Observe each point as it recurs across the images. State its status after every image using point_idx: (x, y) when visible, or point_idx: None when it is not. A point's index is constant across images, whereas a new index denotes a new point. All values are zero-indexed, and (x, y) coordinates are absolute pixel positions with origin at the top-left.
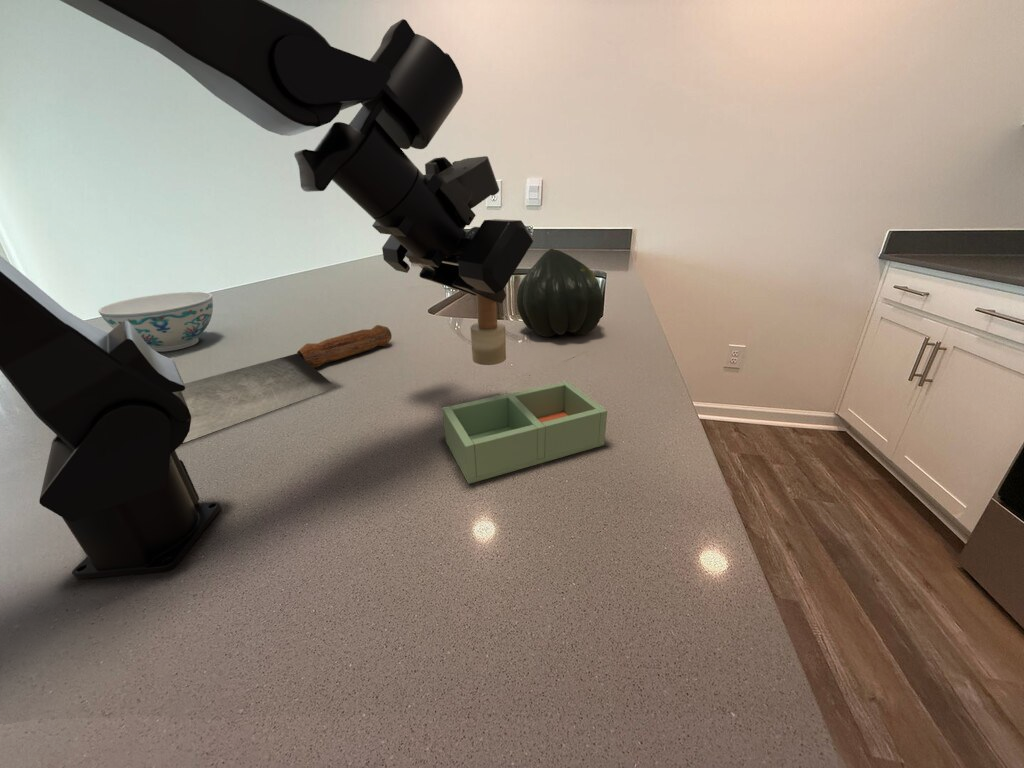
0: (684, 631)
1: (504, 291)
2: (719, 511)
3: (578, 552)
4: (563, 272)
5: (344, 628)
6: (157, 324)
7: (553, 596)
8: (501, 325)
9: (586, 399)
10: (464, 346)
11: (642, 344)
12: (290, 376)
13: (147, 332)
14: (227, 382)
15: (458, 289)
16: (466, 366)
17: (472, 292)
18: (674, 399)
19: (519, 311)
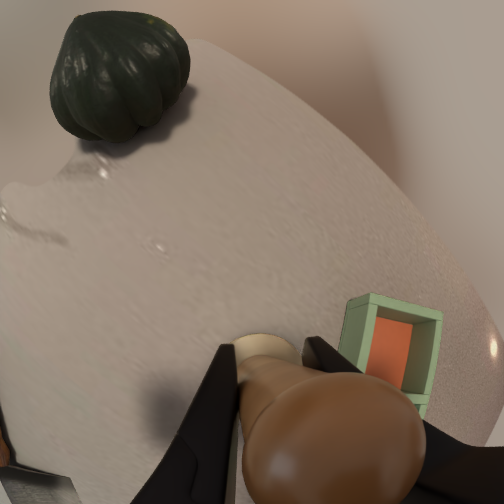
0: (497, 391)
1: (333, 349)
2: (483, 309)
3: (461, 415)
4: (127, 38)
5: None
6: None
7: (464, 439)
8: (278, 346)
9: (419, 312)
10: (49, 254)
11: (252, 83)
12: (37, 496)
13: None
14: None
15: (235, 490)
16: (109, 310)
17: None
18: (385, 182)
19: (71, 131)
